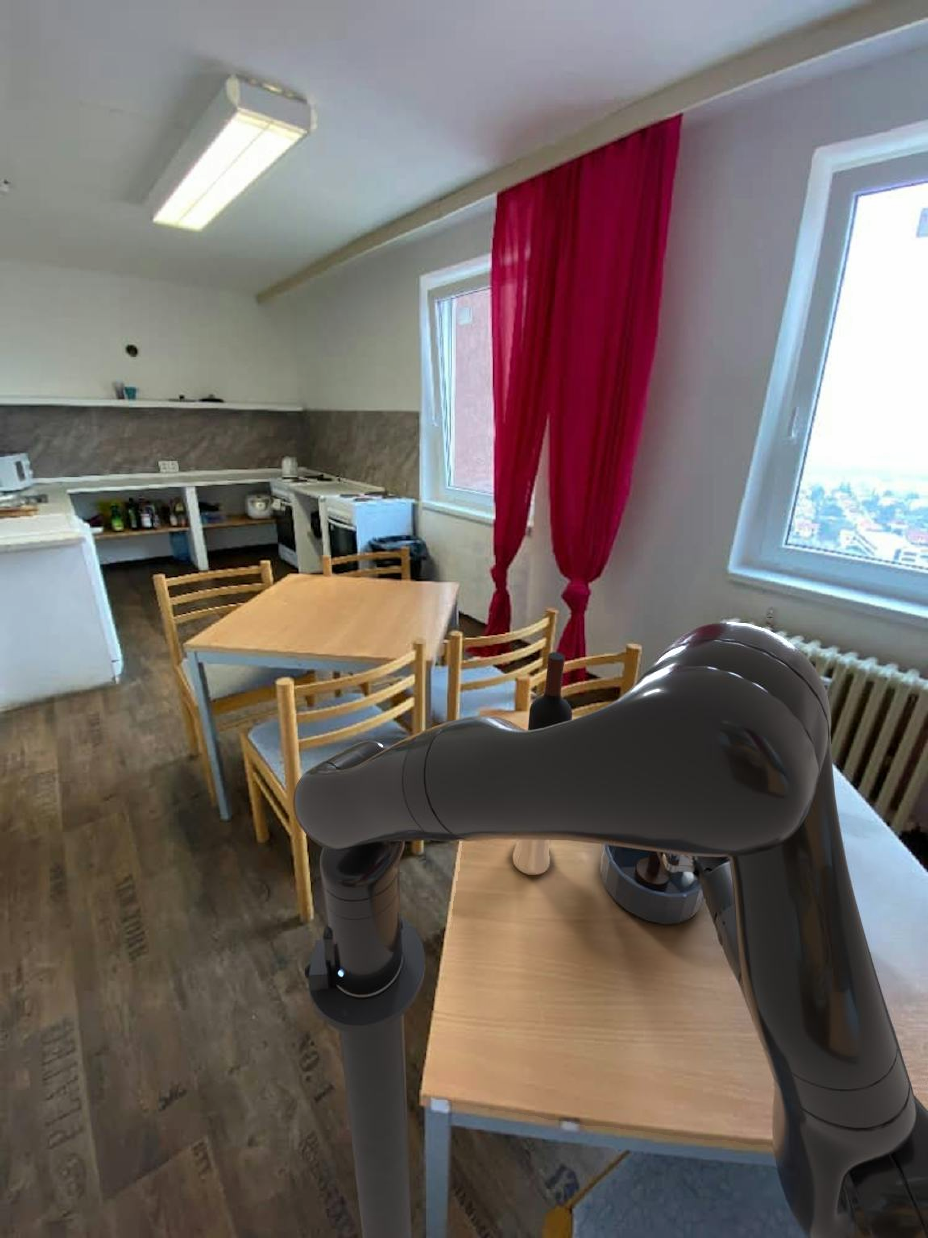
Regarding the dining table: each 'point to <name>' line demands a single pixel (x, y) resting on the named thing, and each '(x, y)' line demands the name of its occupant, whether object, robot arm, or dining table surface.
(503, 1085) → the dining table surface
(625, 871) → the bowl
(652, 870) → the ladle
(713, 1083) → the dining table surface
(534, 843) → the beer glass
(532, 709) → the wine bottle
